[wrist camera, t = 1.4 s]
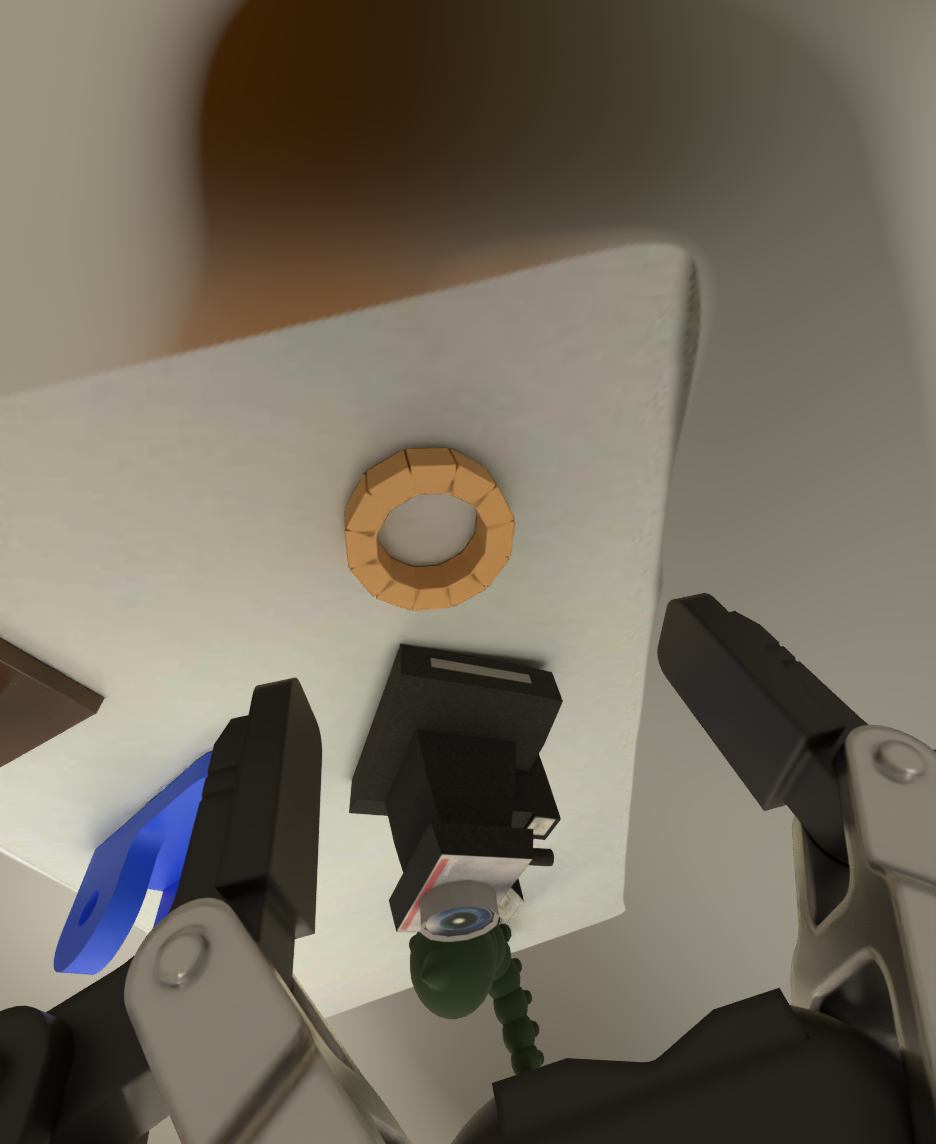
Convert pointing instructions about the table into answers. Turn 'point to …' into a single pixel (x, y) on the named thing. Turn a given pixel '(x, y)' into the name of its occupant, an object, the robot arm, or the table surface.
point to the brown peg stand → (36, 703)
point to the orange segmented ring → (402, 483)
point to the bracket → (131, 874)
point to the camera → (459, 786)
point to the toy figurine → (477, 986)
